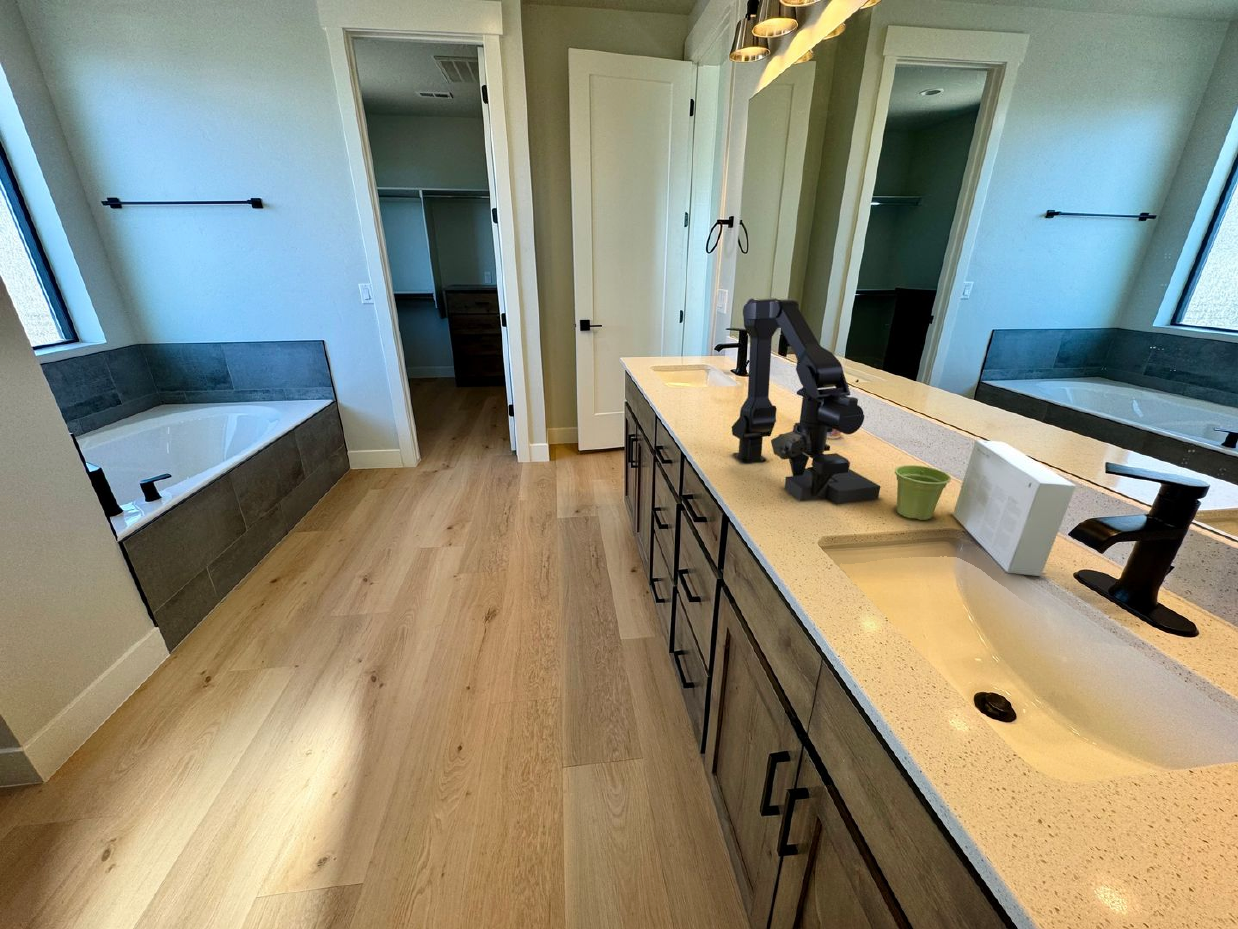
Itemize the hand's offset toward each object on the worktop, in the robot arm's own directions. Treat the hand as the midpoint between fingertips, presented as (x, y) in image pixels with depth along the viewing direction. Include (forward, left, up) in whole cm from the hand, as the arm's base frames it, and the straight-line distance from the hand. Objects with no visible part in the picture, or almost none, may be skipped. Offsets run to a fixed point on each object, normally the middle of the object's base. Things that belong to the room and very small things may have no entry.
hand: (805, 489), depth 107 cm
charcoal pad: (0, +8, -1) cm, 8 cm away
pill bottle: (-34, +29, -1) cm, 45 cm away
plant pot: (+14, +15, -1) cm, 21 cm away
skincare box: (+27, +20, -1) cm, 34 cm away
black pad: (0, +1, -1) cm, 2 cm away
